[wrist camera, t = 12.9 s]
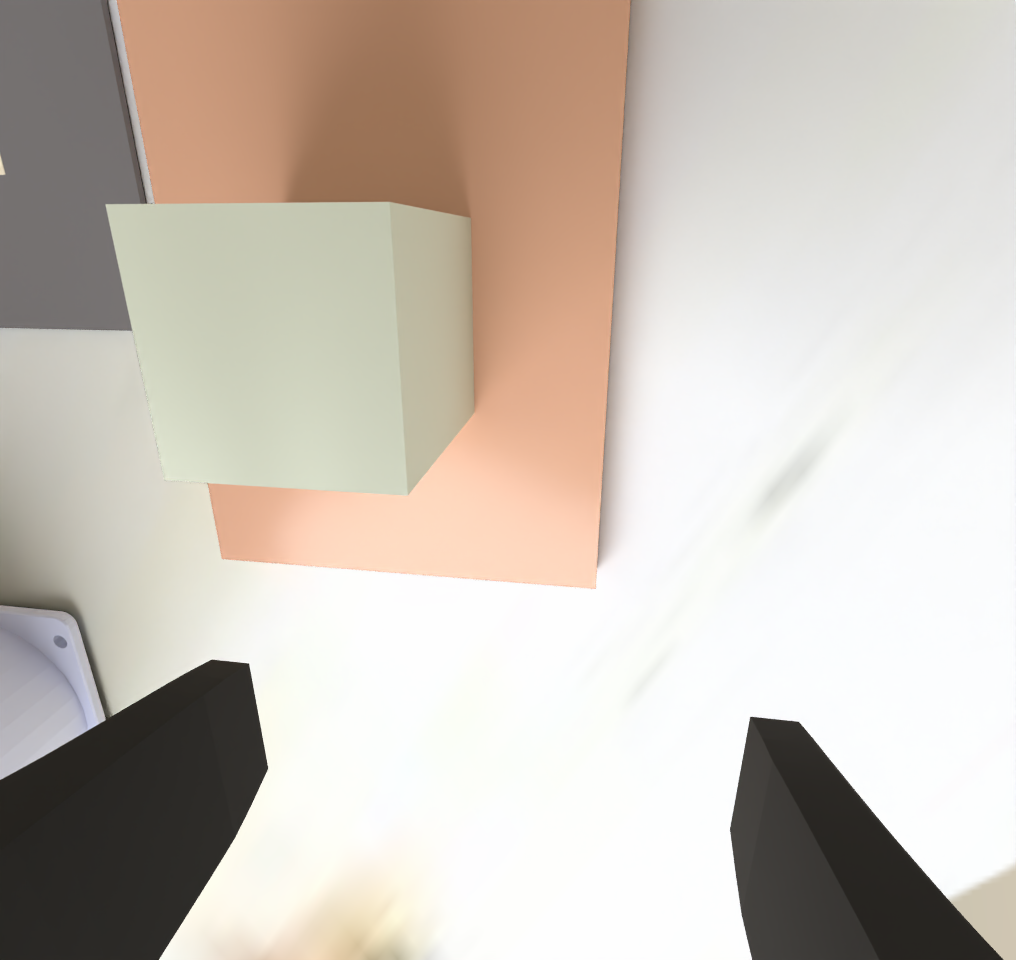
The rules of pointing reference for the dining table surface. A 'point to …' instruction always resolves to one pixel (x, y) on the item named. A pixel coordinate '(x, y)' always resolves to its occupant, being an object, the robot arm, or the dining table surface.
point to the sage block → (300, 339)
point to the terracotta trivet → (434, 186)
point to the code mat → (62, 166)
